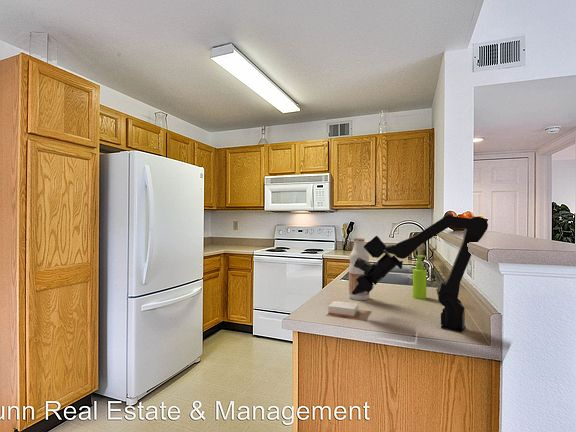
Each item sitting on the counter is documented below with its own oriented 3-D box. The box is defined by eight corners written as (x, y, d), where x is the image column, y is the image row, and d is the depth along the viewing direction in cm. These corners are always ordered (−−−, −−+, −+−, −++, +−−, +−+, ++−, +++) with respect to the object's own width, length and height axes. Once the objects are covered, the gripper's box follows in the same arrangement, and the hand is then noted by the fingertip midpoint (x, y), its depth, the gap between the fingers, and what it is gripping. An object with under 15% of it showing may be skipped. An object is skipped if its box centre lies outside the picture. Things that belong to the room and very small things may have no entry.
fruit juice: (344, 297, 149) (344, 238, 149) (358, 294, 154) (358, 237, 154) (359, 301, 141) (359, 239, 141) (373, 299, 146) (373, 238, 146)
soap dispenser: (430, 299, 146) (430, 256, 146) (415, 299, 146) (415, 256, 146) (425, 296, 152) (425, 254, 152) (411, 296, 152) (411, 254, 152)
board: (371, 312, 125) (371, 311, 125) (365, 322, 113) (365, 321, 113) (334, 308, 131) (334, 306, 131) (325, 317, 119) (325, 315, 119)
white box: (358, 303, 125) (333, 301, 129) (354, 309, 117) (328, 306, 121) (358, 311, 125) (333, 308, 129) (354, 317, 117) (328, 313, 121)
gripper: (371, 249, 128) (344, 273, 133) (362, 253, 111) (331, 282, 115) (391, 269, 125) (362, 294, 129) (385, 278, 108) (353, 306, 112)
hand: (352, 293), depth 122 cm, fingers closed
